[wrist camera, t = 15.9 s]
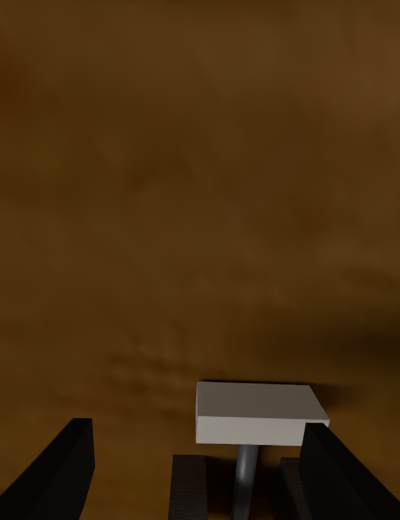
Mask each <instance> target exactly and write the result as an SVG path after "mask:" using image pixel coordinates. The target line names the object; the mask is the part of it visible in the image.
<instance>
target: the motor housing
mask: <svg viewBox="0 0 400 520" xmlns="http://www.w3.org/2000/svg"><path fill="white" fill-rule="evenodd" d="M298 464H299V458H281V462H280V468H279V474H278V480H277V486H276V492H275V498H274V504H273V510H272V517H273V520H313V519H312V517H311V514H310V511H309V508H308V505H307V502H306V498H305V495H304V491H303V488H302V484H301V480H300V477H299V473H298ZM168 520H208V510H207V487H206V463H205V456H187V455H173V463H172V476H171V488H170V501H169V514H168Z"/></svg>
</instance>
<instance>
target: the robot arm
mask: <svg viewBox="0 0 400 520" xmlns="http://www.w3.org/2000/svg"><path fill="white" fill-rule="evenodd" d="M94 469H95V457H94V442H93V426H92V418H73V419H72V420H71V421H70V422H69V423H68V424H67V425H66V426H65V427H64V428H63V429H62V430H61V432H60V433H59V434H58V435H57V436H56V437H55V438H54V439H53V440H52V442H51V443H50V444H49V445H48V446H47V447H46V448H45V449H44V450H43V451H42V452H41V454H40V455H39V456H38V457H37V458H36V459H35V460H34V461H33V462H32V463H31V464H30V465H29V466H28V467H27V468H26V469H25V470H24V472H23V473H22V474H21V475H20V476H19V477H18V478H17V479H16V480H15V481H14V482H13V483H12V484H11V485H10V486H9V487H8V488H7V489H6V490H5V491H4V492H3V493H2V494H1V495H0V520H79V518H80V515H81V512H82V510H83V507H84V504H85V501H86V497H87V494H88V490H89V487H90V483H91V480H92V476H93V472H94ZM298 473H299V477H300V480H301V484H302V488H303V491H304V495H305V498H306V502H307V505H308V508H309V511H310V514H311V517H312V519H313V520H400V501H399V500H398V499H397V498H396V497H395V496H393V495H392V494H391V493H390V492H389V491H388V490H387V489H386V488H385V487H384V486H383V485H382V484H381V483H380V482H379V480H378V479H377V478H376V477H375V476H374V475H373V474H372V473H371V472H370V471H369V470H368V469H367V468H366V467H365V466H364V465H363V464H362V463H361V462H360V461H359V460H358V459H357V458H356V457H355V456H354V455H353V454H352V453H351V451H350V450H349V449H348V448H347V447H346V446H345V445H344V444H343V443H342V442H341V441H340V440H339V439H338V438H337V437H336V436H335V434H334V433H333V432H332V431H331V430H330V429H329V428H328V427H327V426H326V425H325V424H324V423H308V422H306V424H305V429H304V435H303V441H302V446H301V452H300V458H299V464H298Z"/></svg>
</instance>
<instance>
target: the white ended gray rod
mask: <svg viewBox="0 0 400 520" xmlns="http://www.w3.org/2000/svg"><path fill="white" fill-rule="evenodd" d="M306 422H308V423H324V424H325V425H326V426H327V427H328V425H329V418H328V417H327V415H326V413H325V412H324V410H323V408H322V406H321V405H320V403H319V401H318V400H317V398H316V396H315V395H314V393H313V391H312V390H311V388H310V386H309V385H281V384H252V383H222V382H197V395H196V443H216V444H239V449H238V457H237V466H236V475H235V483H234V492H233V501H232V509H231V518H230V520H249V514H250V506H251V499H252V492H253V485H254V478H255V471H256V463H257V456H258V449H259V445H292V446H302V441H303V435H304V429H305V424H306Z"/></svg>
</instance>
